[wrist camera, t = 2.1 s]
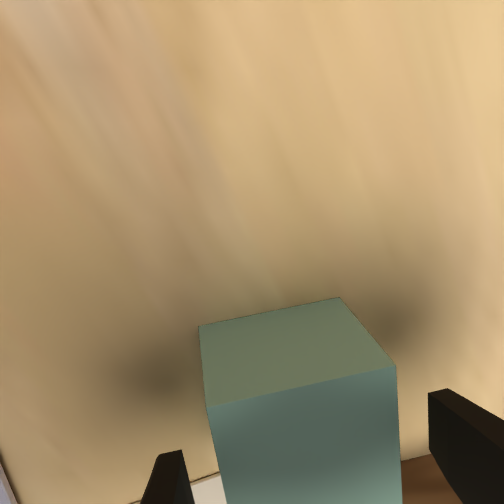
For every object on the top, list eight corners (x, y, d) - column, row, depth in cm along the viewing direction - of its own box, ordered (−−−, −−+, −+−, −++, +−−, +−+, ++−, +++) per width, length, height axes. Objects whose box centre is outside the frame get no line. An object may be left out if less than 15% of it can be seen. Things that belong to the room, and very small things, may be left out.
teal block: (222, 440, 17) (237, 551, 13) (198, 324, 15) (205, 407, 11) (348, 411, 18) (402, 508, 13) (338, 296, 16) (396, 365, 12)
